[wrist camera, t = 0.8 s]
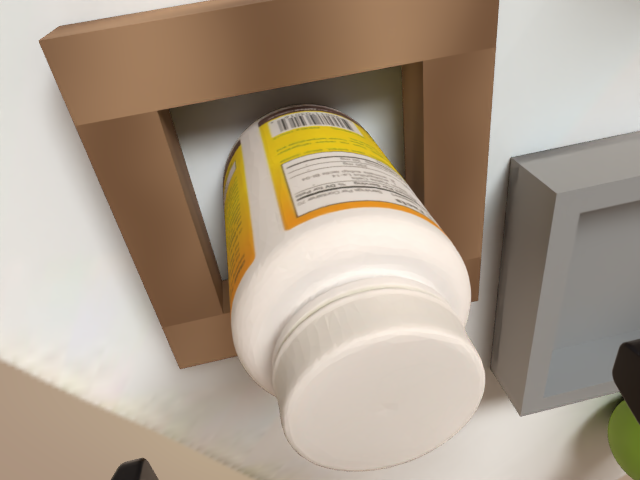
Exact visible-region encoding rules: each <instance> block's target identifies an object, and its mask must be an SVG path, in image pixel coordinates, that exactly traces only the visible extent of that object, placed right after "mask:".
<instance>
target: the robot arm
mask: <svg viewBox="0 0 640 480" xmlns="http://www.w3.org/2000/svg"><path fill="white" fill-rule="evenodd" d="M612 377H613V380H614V383H615V385H616V386H617V388H618V390H619V391H620V393H621V395H622V397H623V398H624V400H625V402H626V403H627V405H628V407H629V408H630V410H631V412H632V414H633V415H634V417H635V419H636V420H637V422H638V424H639V425H640V339H636V340H632V341H628V342H624V343H622V344H621V345H620V347H619V349H618V352H617V355H616V359H615V362H614V365H613V369H612ZM111 480H158V478H157V476H156V474H155V473H154V471H153V470H152V467H151V466H150V464H149V462H148V461H147V460H146V459H144V458H140V459H135V460H132V461H127V462H124V463H122V464H121V465H120V466H119V467H118V469H117V470H116V472H115V474H114V475H113V477H112V479H111Z"/></svg>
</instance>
